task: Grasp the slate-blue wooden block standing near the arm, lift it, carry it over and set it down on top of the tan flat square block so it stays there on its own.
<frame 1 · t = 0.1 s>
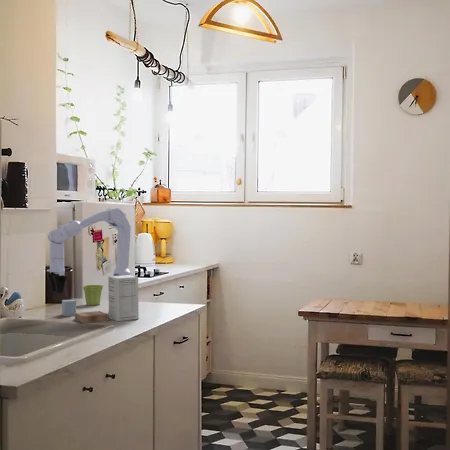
hand: (57, 292, 253), 10 cm above the worktop, fingers open, 7 cm apart
slate block: (68, 315, 257), on the worktop
plant pot: (93, 305, 287), on the worktop
tan flat square block: (91, 321, 244), on the worktop
supplement box: (123, 319, 248), on the worktop
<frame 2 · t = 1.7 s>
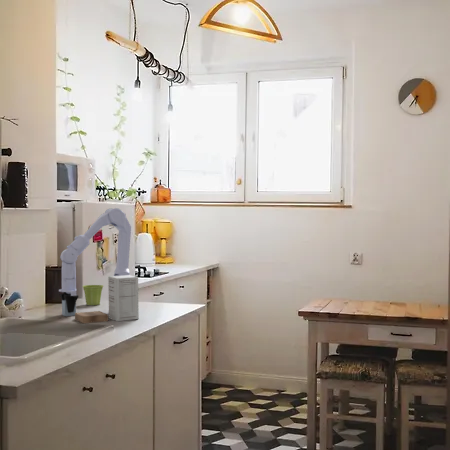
hand: (68, 311, 257), 1 cm above the worktop, fingers closed on slate block, 4 cm apart
slate block: (68, 315, 257), on the worktop, touching gripper
everything else where it was.
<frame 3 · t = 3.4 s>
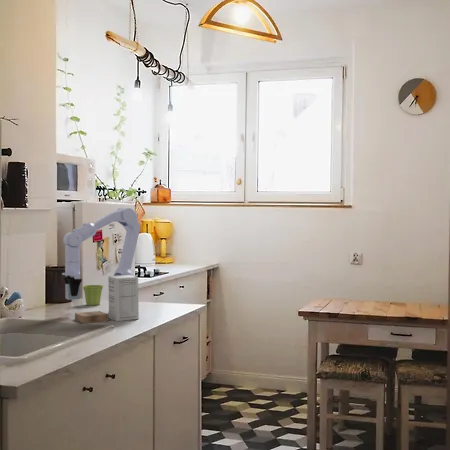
hand: (72, 295, 255), 8 cm above the worktop, fingers closed on slate block, 4 cm apart
slate block: (72, 298, 255), point 7 cm above the worktop, touching gripper
everything else where it was.
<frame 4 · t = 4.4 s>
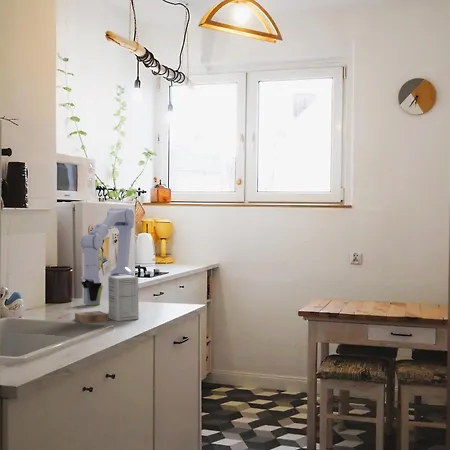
hand: (91, 299, 244), 8 cm above the worktop, fingers closed on slate block, 4 cm apart
slate block: (91, 303, 244), point 6 cm above the worktop, touching gripper
everything else where it was.
when the fingers open (6 cm above the worktop, at t = 5.1 s): slate block drops 2 cm, point 2 cm above the worktop.
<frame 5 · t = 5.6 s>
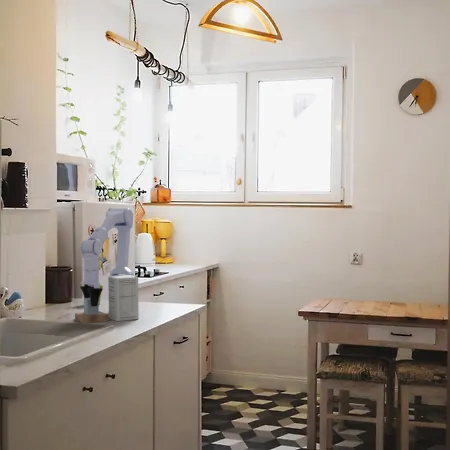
hand: (91, 305, 244), 6 cm above the worktop, fingers open, 7 cm apart
slate block: (91, 313, 244), point 2 cm above the worktop
everything else where it was.
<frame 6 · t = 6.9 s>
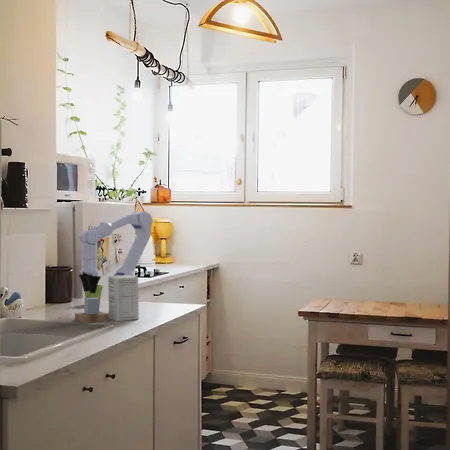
hand: (89, 292, 257), 9 cm above the worktop, fingers open, 7 cm apart
nothing on the worktop moved.
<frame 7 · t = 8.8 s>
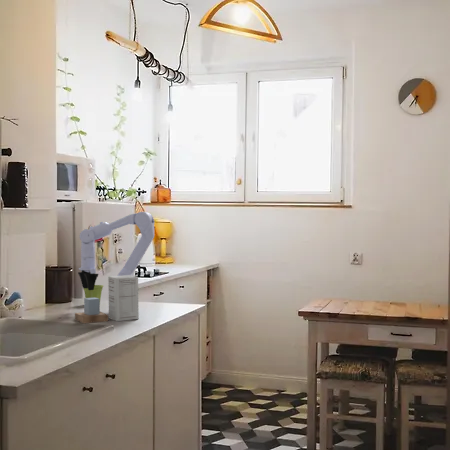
hand: (88, 289, 267), 9 cm above the worktop, fingers open, 7 cm apart
slate block: (91, 313, 244), point 2 cm above the worktop, touching tan flat square block
tan flat square block: (91, 321, 244), on the worktop, touching slate block
everything else where it was.
at the end: slate block inside the target area on the tan flat square block (0.2 cm from its centre), point 3.0 cm above the tan flat square block's base; slate block tilted 0°; the gripper is holding nothing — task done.
